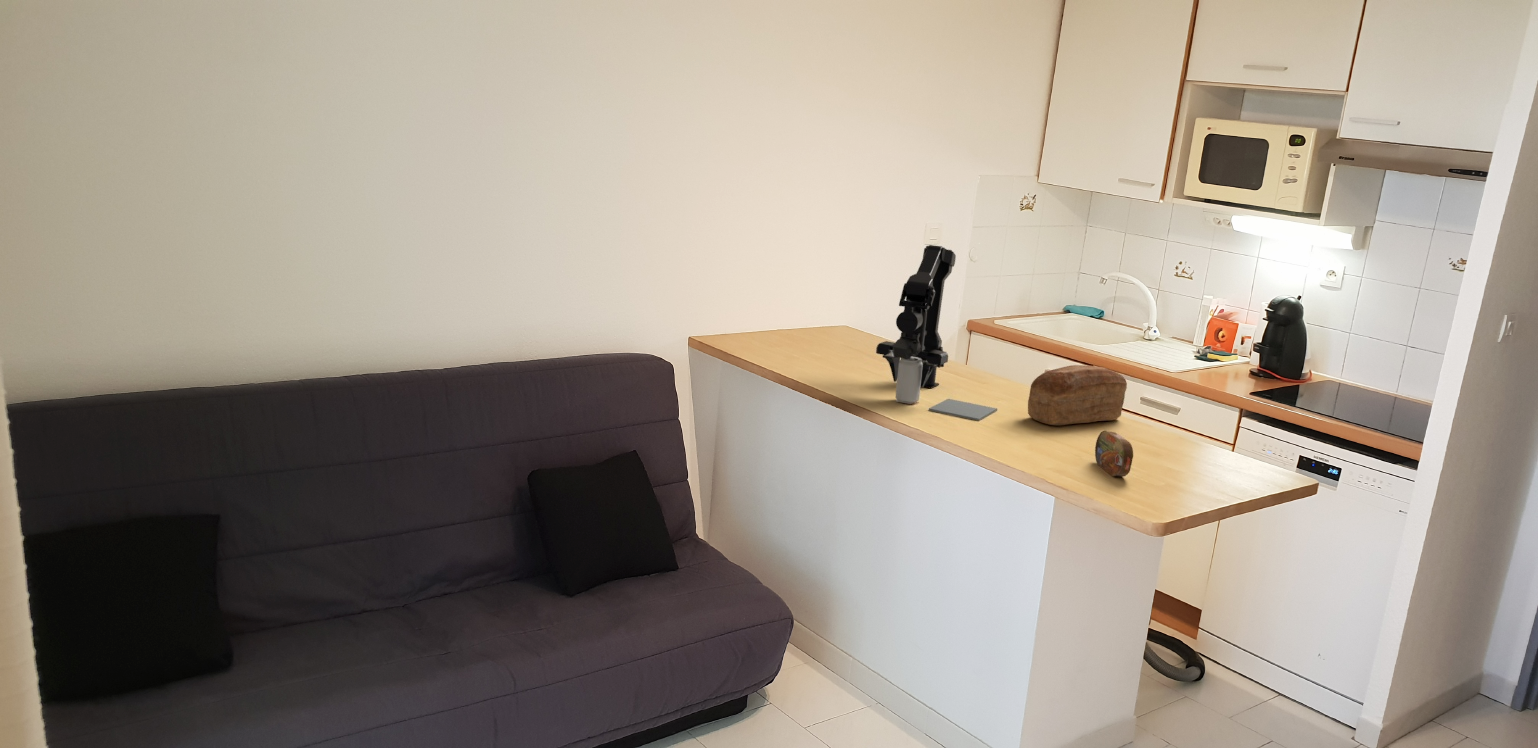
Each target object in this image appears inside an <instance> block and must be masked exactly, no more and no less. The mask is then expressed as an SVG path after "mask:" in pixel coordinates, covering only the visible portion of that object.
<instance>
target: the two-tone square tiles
mask: <svg viewBox="0 0 1538 748" xmlns="http://www.w3.org/2000/svg"><path fill="white" fill-rule="evenodd" d="M894 401H895V402H897V403H900V402H899V401H898V400H897V399H895V400H894ZM919 402H920V401H917V402H916V403H912V405H913V406H916V405H918V404H919ZM906 404H907V405H910V404H909V403H906Z"/></svg>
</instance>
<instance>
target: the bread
mask: <svg viewBox="0 0 1538 748" xmlns="http://www.w3.org/2000/svg"><path fill="white" fill-rule="evenodd" d="M1127 385H1128V383H1127V380H1126V378H1124V376H1123V375H1121V374H1120V373H1119V372H1116V371H1114V370H1111V369H1109V368H1107V367H1104V366H1094V365H1083V364H1082V365H1081V364H1080V365H1078V364H1075V365H1074V364H1073V365H1068V366H1067V365H1065V366H1063V367H1059V368H1054V369H1051V370H1048V371H1044V372H1043V373H1041V374H1040V375H1039V376H1037V377H1036V378H1034V380H1033V381H1032V382H1031V384H1030V389H1029V396H1028V400H1027V414H1028V416H1029V417H1030V418H1031V419H1032V420H1035V421H1037V422H1040V423H1043V424H1046V425H1050V426H1065V425H1072V424H1074V425H1075V424H1085V423H1093V422H1098V421H1099V422H1101V421H1103V422H1104V421H1115V420H1116V419H1119V418H1120V417H1121V416H1122V410H1123V406H1124V401H1125V398H1126V397H1125V396H1126V391H1127V388H1128V387H1127Z"/></svg>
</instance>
